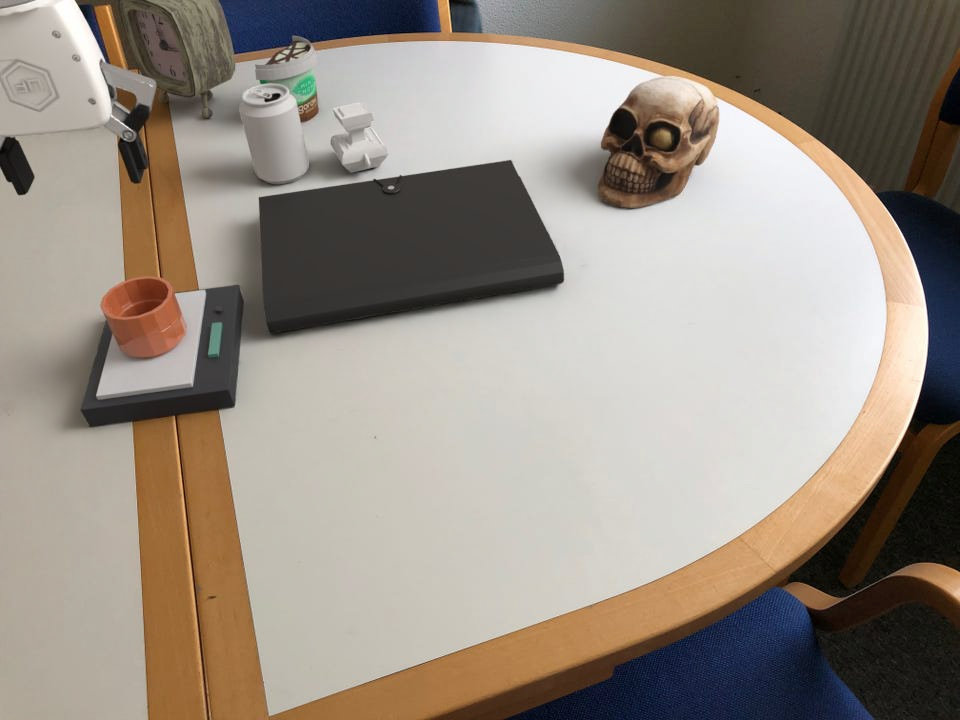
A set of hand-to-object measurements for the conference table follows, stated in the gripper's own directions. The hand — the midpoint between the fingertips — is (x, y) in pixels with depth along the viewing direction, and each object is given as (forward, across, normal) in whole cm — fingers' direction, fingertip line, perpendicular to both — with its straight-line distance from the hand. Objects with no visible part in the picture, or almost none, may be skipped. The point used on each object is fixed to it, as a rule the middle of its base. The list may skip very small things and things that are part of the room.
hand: (83, 181), depth 71 cm
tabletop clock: (+21, -1, +61) cm, 65 cm away
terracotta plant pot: (+18, +1, -2) cm, 18 cm away
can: (+21, +13, +35) cm, 43 cm away
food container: (+21, +16, +53) cm, 60 cm away
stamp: (+21, +24, +36) cm, 48 cm away
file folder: (+21, +28, +12) cm, 37 cm away
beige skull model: (+20, +63, +24) cm, 70 cm away
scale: (+21, +2, -2) cm, 21 cm away
